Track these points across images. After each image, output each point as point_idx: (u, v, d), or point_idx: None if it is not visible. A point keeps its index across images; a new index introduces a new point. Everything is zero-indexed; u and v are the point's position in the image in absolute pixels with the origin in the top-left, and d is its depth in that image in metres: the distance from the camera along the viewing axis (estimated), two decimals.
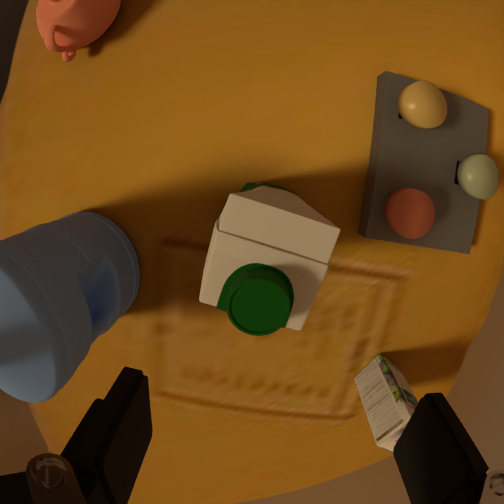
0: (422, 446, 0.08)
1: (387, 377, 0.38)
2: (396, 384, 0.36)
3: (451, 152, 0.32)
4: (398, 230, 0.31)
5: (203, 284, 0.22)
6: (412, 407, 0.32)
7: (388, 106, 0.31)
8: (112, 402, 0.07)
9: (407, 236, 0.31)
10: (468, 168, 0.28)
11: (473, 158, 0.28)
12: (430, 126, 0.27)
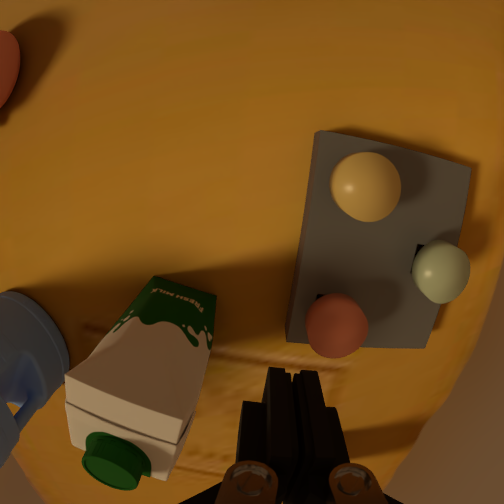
0: None
1: None
2: None
3: (410, 234, 0.27)
4: (316, 350, 0.26)
5: (70, 434, 0.17)
6: None
7: (321, 182, 0.26)
8: (279, 400, 0.08)
9: (328, 356, 0.26)
10: (425, 269, 0.24)
11: (434, 254, 0.23)
12: (371, 220, 0.23)
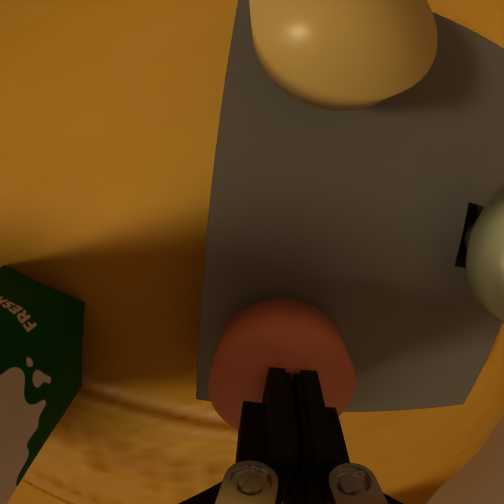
0: None
1: None
2: None
3: (455, 180, 0.11)
4: (234, 424, 0.11)
5: None
6: None
7: (245, 55, 0.10)
8: (279, 400, 0.08)
9: None
10: None
11: None
12: (366, 92, 0.07)
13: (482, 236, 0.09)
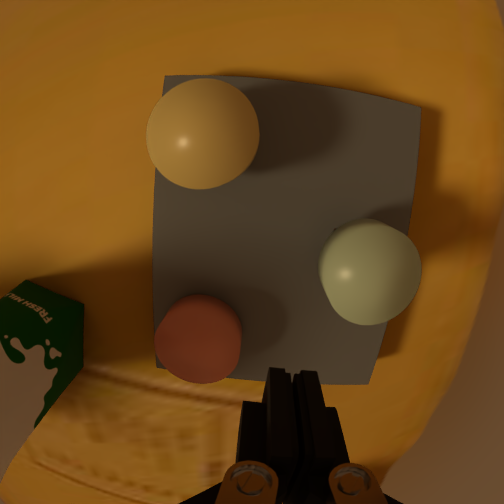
0: None
1: None
2: None
3: (320, 214, 0.19)
4: (172, 371, 0.19)
5: None
6: None
7: None
8: (279, 400, 0.08)
9: (190, 380, 0.19)
10: (328, 267, 0.15)
11: (344, 240, 0.15)
12: (208, 185, 0.14)
13: (322, 256, 0.17)
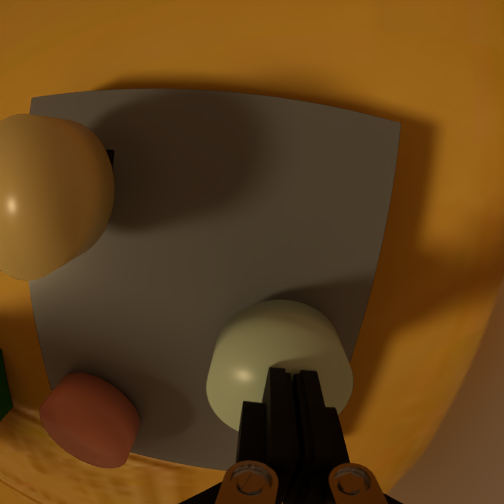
0: None
1: None
2: None
3: (225, 292, 0.13)
4: (66, 449, 0.13)
5: None
6: None
7: None
8: (279, 400, 0.08)
9: (85, 461, 0.13)
10: None
11: (230, 345, 0.10)
12: (29, 276, 0.08)
13: (214, 350, 0.12)
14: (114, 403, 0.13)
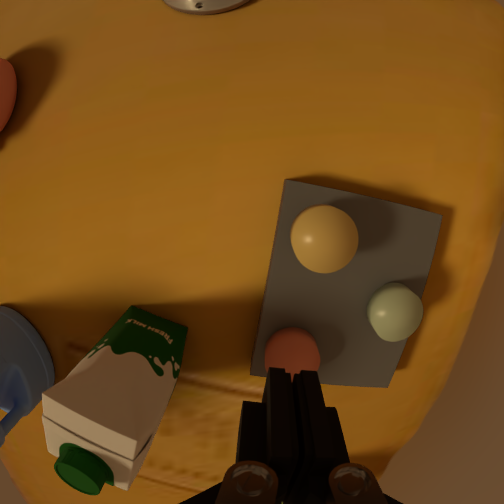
0: None
1: None
2: None
3: (373, 281, 0.29)
4: None
5: (47, 443, 0.18)
6: None
7: (284, 230, 0.28)
8: (279, 400, 0.08)
9: None
10: (376, 310, 0.27)
11: (386, 297, 0.27)
12: (326, 271, 0.25)
13: (371, 303, 0.29)
14: (313, 340, 0.29)
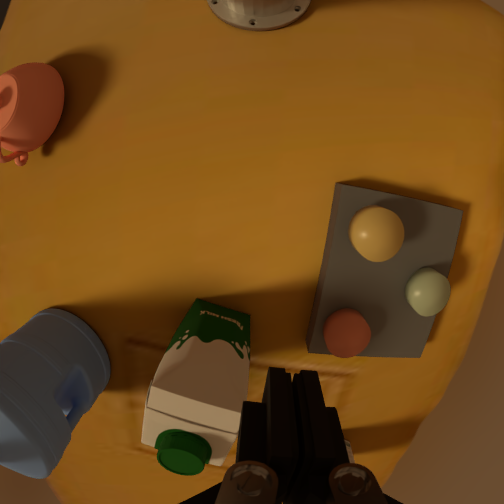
0: None
1: None
2: None
3: (410, 266, 0.34)
4: (331, 352, 0.34)
5: (142, 434, 0.23)
6: None
7: (340, 226, 0.33)
8: (279, 400, 0.08)
9: (340, 356, 0.34)
10: (414, 290, 0.32)
11: (422, 279, 0.32)
12: (380, 260, 0.29)
13: (409, 285, 0.33)
14: (363, 318, 0.34)
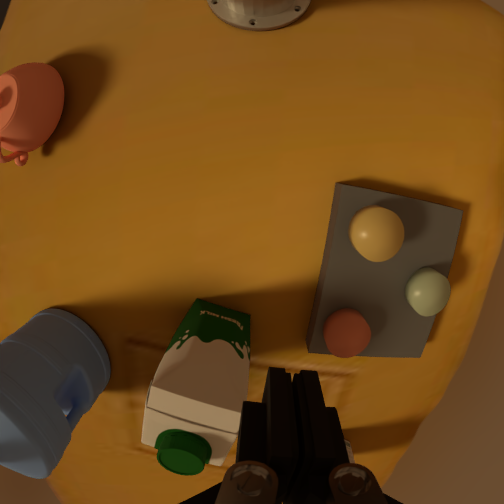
0: None
1: None
2: None
3: (410, 266, 0.34)
4: (331, 352, 0.34)
5: (142, 434, 0.23)
6: None
7: (340, 226, 0.33)
8: (279, 400, 0.08)
9: (341, 356, 0.34)
10: (415, 290, 0.32)
11: (422, 279, 0.32)
12: (380, 260, 0.29)
13: (409, 285, 0.33)
14: (363, 318, 0.34)
